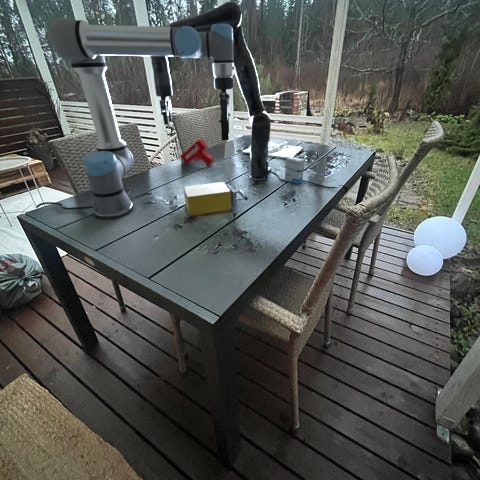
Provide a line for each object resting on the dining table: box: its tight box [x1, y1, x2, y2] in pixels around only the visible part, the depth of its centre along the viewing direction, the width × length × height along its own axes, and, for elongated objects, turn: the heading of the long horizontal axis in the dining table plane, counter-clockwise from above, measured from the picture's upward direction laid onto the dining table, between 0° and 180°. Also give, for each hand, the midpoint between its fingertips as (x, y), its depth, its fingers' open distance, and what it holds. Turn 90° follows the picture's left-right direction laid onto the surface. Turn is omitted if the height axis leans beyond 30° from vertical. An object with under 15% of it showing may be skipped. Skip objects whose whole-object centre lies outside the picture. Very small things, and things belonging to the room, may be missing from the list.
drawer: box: [226, 183, 249, 209], centre depth 116 cm, size 22×10×7 cm, turn 108°
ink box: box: [284, 156, 306, 185], centre depth 140 cm, size 8×5×12 cm, turn 47°
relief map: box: [242, 138, 304, 160], centre depth 192 cm, size 27×35×5 cm
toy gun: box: [180, 138, 215, 167], centre depth 167 cm, size 18×4×15 cm
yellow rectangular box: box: [183, 181, 232, 218], centre depth 114 cm, size 17×11×9 cm, turn 108°
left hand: (225, 136), depth 113 cm, fingers open, 13 cm apart
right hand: (168, 122), depth 130 cm, fingers open, 8 cm apart
